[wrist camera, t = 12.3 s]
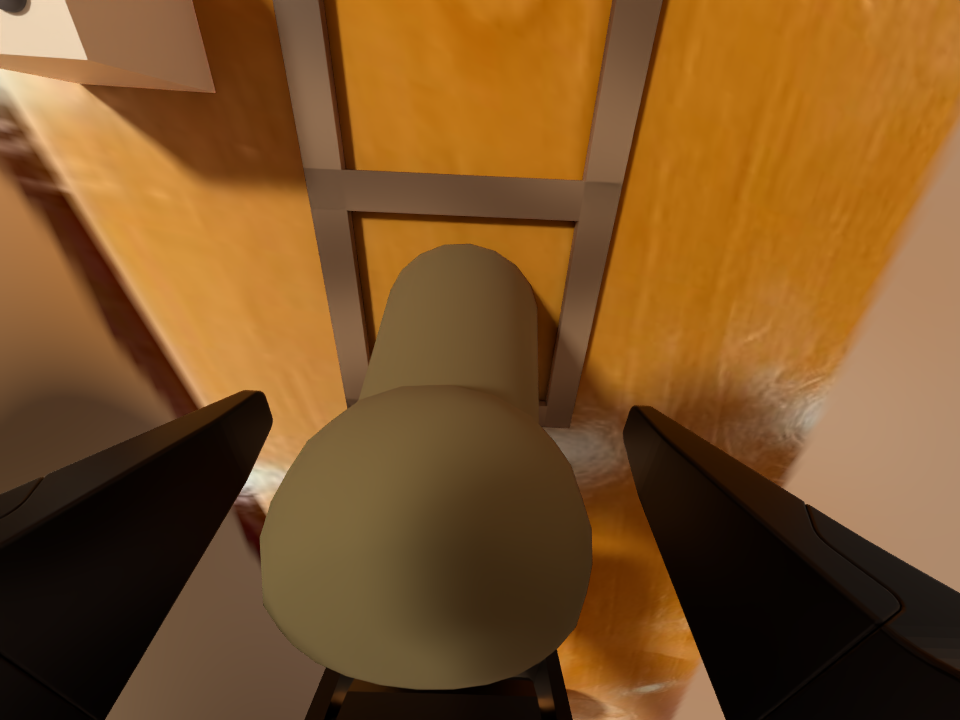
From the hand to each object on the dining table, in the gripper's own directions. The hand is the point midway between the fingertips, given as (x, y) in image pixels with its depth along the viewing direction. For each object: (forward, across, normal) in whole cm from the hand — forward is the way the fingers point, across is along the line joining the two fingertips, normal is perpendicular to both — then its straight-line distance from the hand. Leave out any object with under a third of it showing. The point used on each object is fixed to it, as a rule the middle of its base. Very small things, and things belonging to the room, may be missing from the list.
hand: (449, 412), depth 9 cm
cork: (+6, 0, 0) cm, 6 cm away
